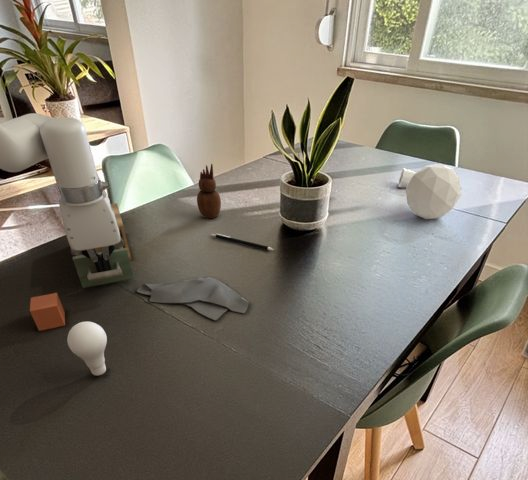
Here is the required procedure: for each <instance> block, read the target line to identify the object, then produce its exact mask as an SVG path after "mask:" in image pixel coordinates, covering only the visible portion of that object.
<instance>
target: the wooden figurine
mask: <svg viewBox="0 0 528 480" xmlns="http://www.w3.org/2000/svg"><path fill="white" fill-rule="evenodd" d="M198 188H199V191H198V193H197V196H196V204H197V208H198V211H199V213H200V214H201V216H202V217H203V218H205V219H215V218H217V217H218V216H220V215H219V214H220V213H221V208H222V207H221V206H222V200H221V195H220V193H219V192H218V191H217V190H216V188H217V183H216V180H215V178H214V166H213V163H211V165H210V169H209V167H208V165H207V164H206V165H205V169H204V168H203V169H202V171H200V173H199V180H198Z"/></svg>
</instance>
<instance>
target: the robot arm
mask: <svg viewBox="0 0 528 480" xmlns="http://www.w3.org/2000/svg"><path fill="white" fill-rule="evenodd" d="M46 160H48V162H49V165H50V168H51V171H52V174H53V177H54V179H55V182H56V186H57V189H58V192H59V195H60V198H59V199H58V206H59V211H60V216H61V220H62V221H61V222H62V225H63V229H64V233H65V236H66V239H67V242H68V244H69V247H70V254H71V255H72V256H75V255H84V256H86V257H87V258H89V259H91V260H92V261H93V262H94V263H95V266H96V269H97V273H98V272H104V271H109V270H112V269H111V265H110V262H109V257H110V255H111V254H112V252H113V251H114V250H115V249H118V248H120V247H123V246H124V243H123V240H122V238H121V237H120V233H119V228H118V224H117V221H116V217H115V214H114V211H113V208H112V205H111V204H112V203H111V201H110V198H109V196H108V194H107V192H105V190H109V189H110V187H109V184H108V181H103V180H102V181H101V179H100V178H99V175H98V172H97V168H96V164H95V161H94V160H95V159H94V156H93V152H92V148H91V145H90V142H89V137H88V134H87V130H86V127H85V124H83V122H82V121H81V120H80V119H77V118H74V117H53V116H49V115H45V114H43V113H37V112H36V113H35V112H31V113H26V114H23V115H21V116H20V115H19V116H18V117H14V118H12V119H11V118H10V119H8V120H6V121H3V122H0V170H2V171H5V172H8V173H18V172H19V173H20V172H22V171H24V170H26V169H28V168H30V167H32V166H35V165H37V164H38V163H40V162H43V161H46ZM100 247H102V254H101V255H102V256H101V257H100V256H99V254H97V252H96V250H95V248H100ZM101 259H102V260H101Z"/></svg>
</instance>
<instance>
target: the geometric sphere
mask: <svg viewBox="0 0 528 480" xmlns="http://www.w3.org/2000/svg"><path fill="white" fill-rule="evenodd" d="M416 172H417V173H415V174H414V175H413V177H412V179H411V180H410V182H409V184H408V186H407V187H405V195H406V203H407V205H408V208H409V209H410V211H411V213H412V214H413V215H415V216H417V217H420V218H422V219H423V220H434V219H440V218H443V217H444V216H446V215H447V214H448V213H449V212H451V211H452V210H453V209H454V207H455V206H456V204H457V203H458V201H459V200H460V198H461V196H462V191H461V190H462V189H461V188H462V187H461V180H460V177H459V176H458V173H457V172H456V170H455V169H454V168H452V167H450V166H448V165H445V164H443V163H440V162H439V163H434V164H428V165H424V166H422V167H421V168H420V169H419V170H417V171H416Z"/></svg>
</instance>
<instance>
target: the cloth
mask: <svg viewBox="0 0 528 480" xmlns="http://www.w3.org/2000/svg"><path fill="white" fill-rule="evenodd" d="M136 292H137V293H138V294H141V295H146V296H150V298H149V301H148V302H150V303H159V304H180V305H185V306H188V307H191V308H192V309H193V310H194V311H195V312H197V313H198V314H200V315H202V316H203V317H206V318H208V319H210V320H213V321H218V320H219V318H221V317H222V315H224V314H225V313H226V312H227V311H228V310H230V311H231V312H234V313H239V314H246V312H247V310H248V309H249V308H248V307H249V304H250V302H249V301H248V300H247V299H245V298H244V297H243V296H241V295H240V294H239V293H237V292H236V291H235V290H234V289H232V288H230V287H229V286H228V285H227V284H225V283H224V282H221V280H219V279H217V278H213V277H212V276H207V277H199V276H198V277H193V278H189V279H178V280H177V279H176V280H171V281H166V282H161V283H143V284H141V285H140V286H139V287H138V288H137V289H136Z"/></svg>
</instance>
